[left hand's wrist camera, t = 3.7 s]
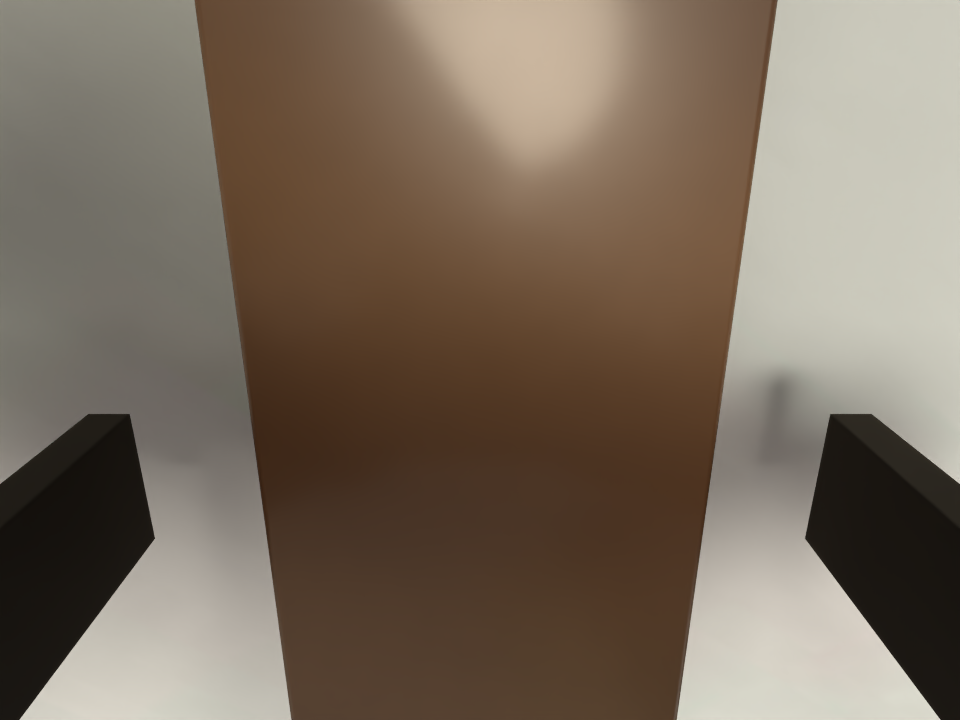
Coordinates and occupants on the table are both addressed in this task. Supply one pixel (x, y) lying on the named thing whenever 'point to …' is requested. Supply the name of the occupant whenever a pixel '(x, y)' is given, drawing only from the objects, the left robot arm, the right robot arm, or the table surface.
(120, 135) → the table surface
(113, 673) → the table surface
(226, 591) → the table surface
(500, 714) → the bar
